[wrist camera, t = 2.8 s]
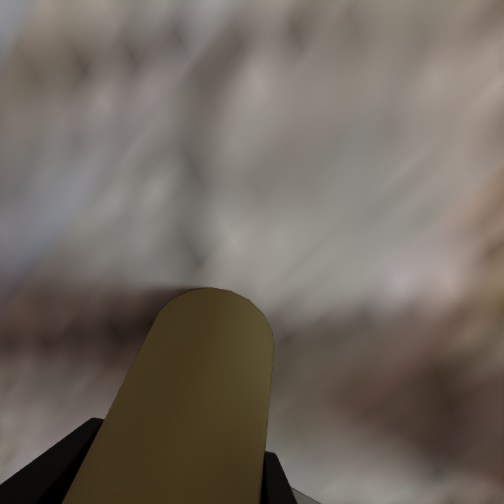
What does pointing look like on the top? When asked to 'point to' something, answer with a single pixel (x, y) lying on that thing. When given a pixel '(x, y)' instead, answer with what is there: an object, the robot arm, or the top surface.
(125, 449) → the olive gourd-shaped piece
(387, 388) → the top surface
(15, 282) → the top surface
